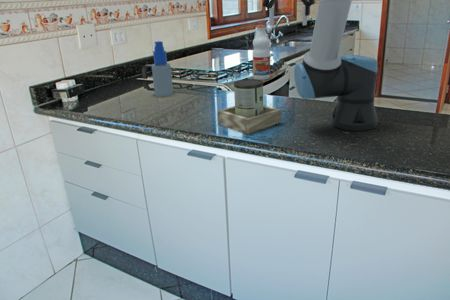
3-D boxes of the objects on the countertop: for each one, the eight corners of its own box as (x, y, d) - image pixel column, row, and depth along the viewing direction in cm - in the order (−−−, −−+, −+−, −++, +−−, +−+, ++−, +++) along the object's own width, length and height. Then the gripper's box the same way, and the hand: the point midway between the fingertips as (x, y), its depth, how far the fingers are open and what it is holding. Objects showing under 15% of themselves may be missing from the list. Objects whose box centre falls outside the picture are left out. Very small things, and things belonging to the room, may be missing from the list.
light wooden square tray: (280, 123, 134) (281, 109, 132) (248, 134, 125) (247, 120, 123) (250, 114, 146) (250, 101, 144) (218, 124, 137) (217, 110, 135)
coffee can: (236, 116, 140) (234, 79, 135) (263, 116, 139) (263, 78, 134) (233, 125, 131) (232, 85, 126) (263, 125, 130) (263, 85, 124)
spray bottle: (157, 97, 178) (151, 43, 168) (152, 93, 186) (146, 41, 176) (175, 94, 181) (170, 41, 172) (170, 91, 189) (164, 39, 179)
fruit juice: (266, 76, 213) (265, 24, 203) (272, 79, 205) (273, 25, 194) (250, 77, 211) (249, 25, 200) (256, 80, 202) (256, 26, 192)
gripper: (325, -38, 135) (322, 24, 143) (262, -32, 147) (262, 24, 155) (318, -40, 129) (316, 25, 137) (253, -33, 141) (254, 26, 149)
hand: (287, 25), depth 146 cm, fingers open, 13 cm apart
